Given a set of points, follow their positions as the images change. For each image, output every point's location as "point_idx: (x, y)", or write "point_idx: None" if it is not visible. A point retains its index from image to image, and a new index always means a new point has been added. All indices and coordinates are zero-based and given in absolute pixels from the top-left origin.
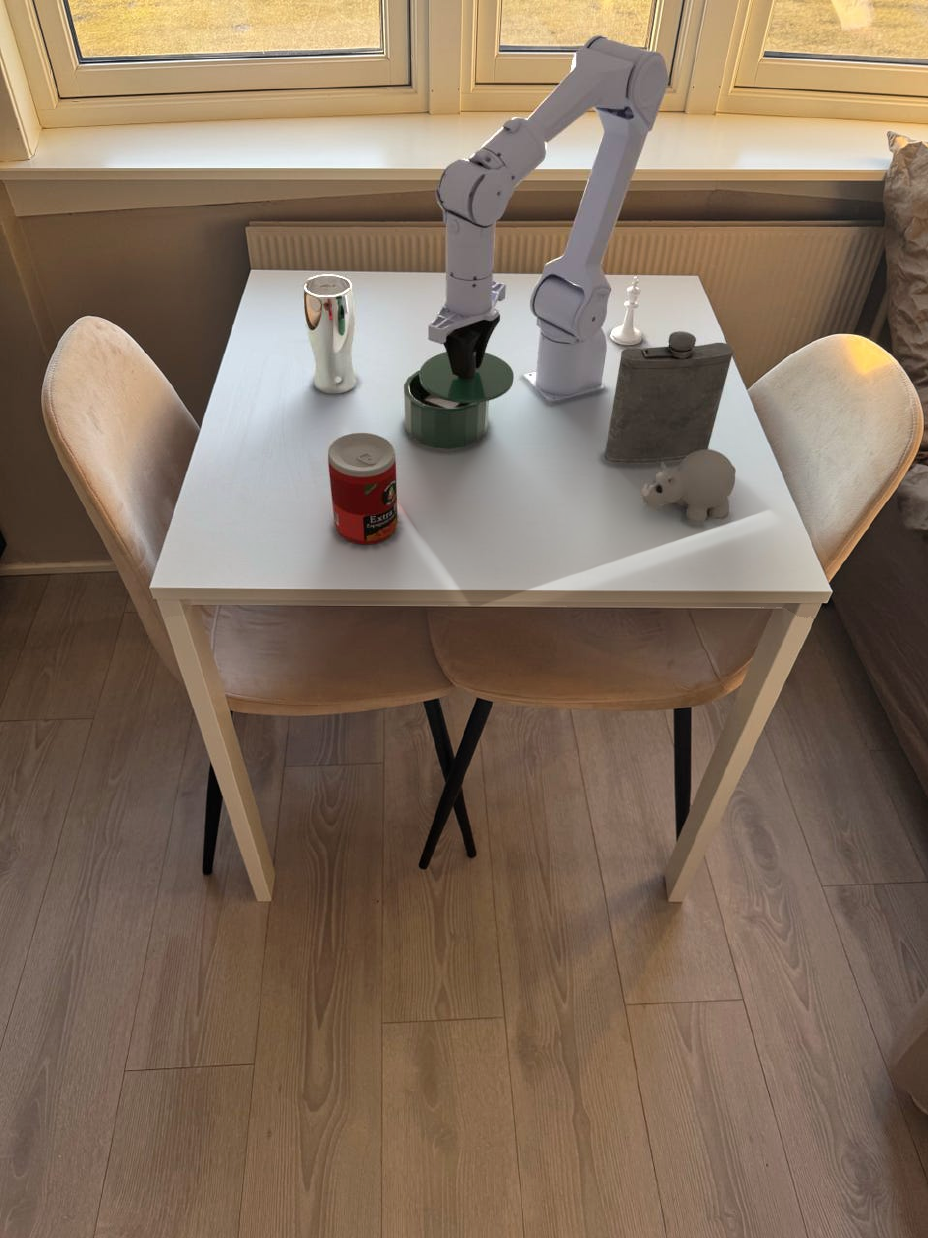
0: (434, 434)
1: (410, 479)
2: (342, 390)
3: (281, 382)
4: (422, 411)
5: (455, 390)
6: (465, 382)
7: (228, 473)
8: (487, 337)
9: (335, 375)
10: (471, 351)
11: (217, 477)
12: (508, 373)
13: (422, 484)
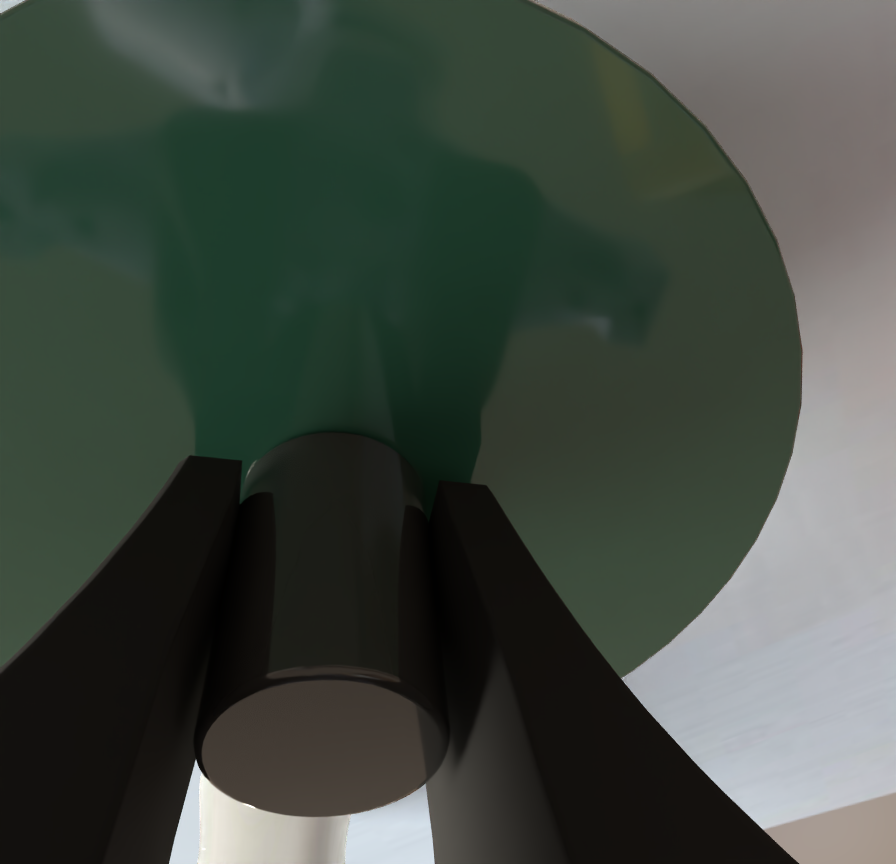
0: None
1: (823, 314)
2: None
3: (369, 858)
4: None
5: (657, 471)
6: (488, 453)
7: (862, 758)
8: (60, 788)
9: (331, 825)
10: (592, 757)
11: (884, 766)
12: (27, 102)
13: (857, 247)
